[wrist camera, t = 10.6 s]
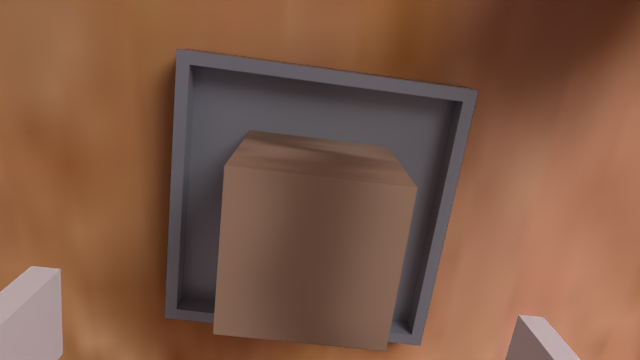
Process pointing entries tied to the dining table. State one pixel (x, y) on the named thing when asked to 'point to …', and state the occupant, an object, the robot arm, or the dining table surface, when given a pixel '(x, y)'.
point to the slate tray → (316, 122)
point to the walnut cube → (311, 241)
